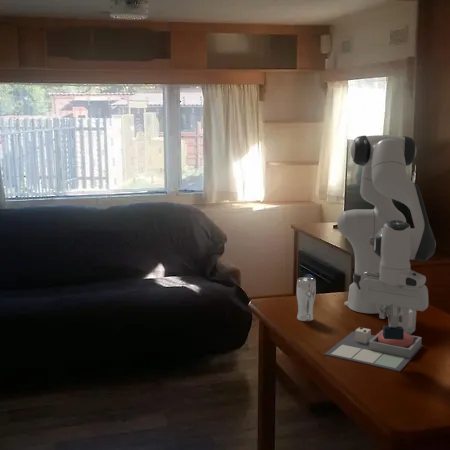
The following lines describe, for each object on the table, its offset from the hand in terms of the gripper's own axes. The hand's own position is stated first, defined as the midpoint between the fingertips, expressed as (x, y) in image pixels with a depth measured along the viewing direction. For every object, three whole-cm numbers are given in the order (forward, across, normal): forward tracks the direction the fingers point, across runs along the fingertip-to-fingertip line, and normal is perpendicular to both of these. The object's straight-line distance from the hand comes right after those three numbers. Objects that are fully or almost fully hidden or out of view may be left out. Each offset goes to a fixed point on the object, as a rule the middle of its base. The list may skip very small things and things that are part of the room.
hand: (392, 319), depth 190 cm
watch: (+6, +1, -1) cm, 6 cm away
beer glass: (+14, -39, +23) cm, 47 cm away
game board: (+13, -7, +6) cm, 16 cm away
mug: (+14, -4, +28) cm, 31 cm away
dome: (+12, -2, +12) cm, 17 cm away
